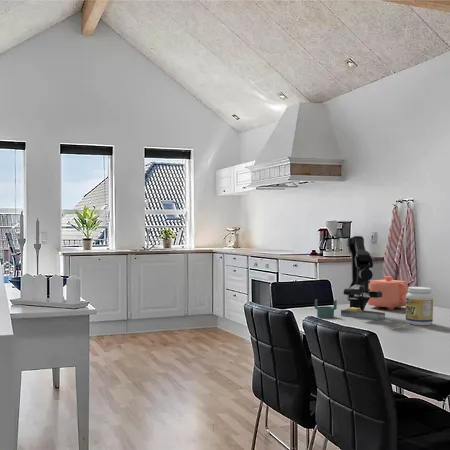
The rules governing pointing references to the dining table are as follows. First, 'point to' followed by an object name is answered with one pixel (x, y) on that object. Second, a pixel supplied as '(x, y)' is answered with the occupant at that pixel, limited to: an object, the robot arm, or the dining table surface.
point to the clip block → (354, 309)
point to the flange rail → (364, 314)
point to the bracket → (325, 310)
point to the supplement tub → (419, 306)
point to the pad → (361, 320)
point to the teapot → (389, 293)
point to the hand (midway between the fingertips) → (362, 310)
